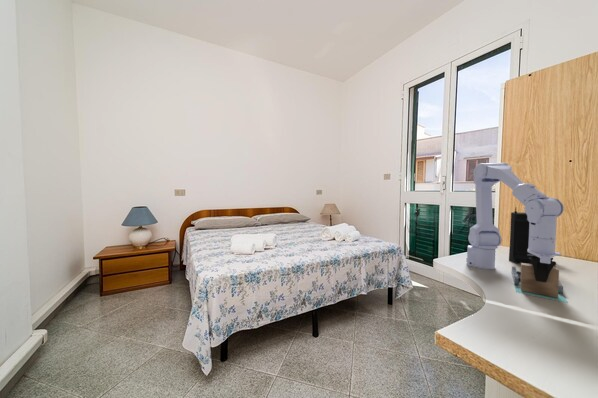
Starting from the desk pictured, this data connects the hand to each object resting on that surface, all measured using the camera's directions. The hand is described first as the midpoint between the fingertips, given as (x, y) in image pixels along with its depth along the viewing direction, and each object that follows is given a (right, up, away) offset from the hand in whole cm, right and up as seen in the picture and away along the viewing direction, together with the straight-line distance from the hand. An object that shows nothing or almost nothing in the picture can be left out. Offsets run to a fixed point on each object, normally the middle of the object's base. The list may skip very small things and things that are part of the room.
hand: (539, 279), depth 71 cm
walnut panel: (0, -4, 0) cm, 4 cm away
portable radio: (+23, -3, +28) cm, 36 cm away
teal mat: (0, -5, 0) cm, 5 cm away
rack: (+7, -5, +8) cm, 12 cm away
